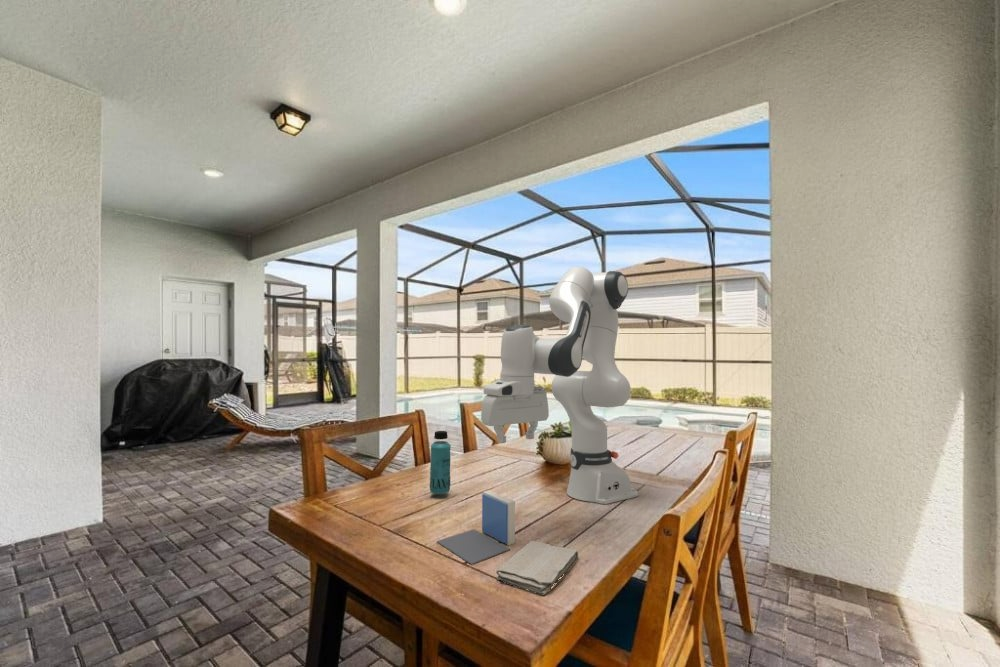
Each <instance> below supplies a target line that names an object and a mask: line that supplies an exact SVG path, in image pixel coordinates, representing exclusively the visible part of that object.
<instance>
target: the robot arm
mask: <svg viewBox="0 0 1000 667" xmlns="http://www.w3.org/2000/svg"><path fill="white" fill-rule="evenodd" d="M558 280H559V281H557V283H556V285H555V286H554V287H553V289H552V291H551V294H550V296H549V299H548V303H549V308H550V310H551V312H552V313H553V315H554V316H555V317H556V318H558V319H559V320H561V321H562V322H564V323H569V325H568V329H567V330H566V331H567V332H566V334H565V335H564V336H561V337H557V338H556V337H555V338H542V337H541V338H540V337H539V336H537V335H536V334H535V333H534V329H533V326H532V325H529V324H518V325H516V324H515V325H510V326H507V327H506V328H504V330H503V333H502V336H501V342H500V344H501V347H500V362H501V370H500V376H499V379H497V380H495V381H493V382H491V383H489V384H486V385H484V387H483V394H484V395H485V396H483V399H482V403H481V412H480V414H481V415H480V417H481V418H480V421H481V422H482V424H483V426H486V427H493V430H494V432H495V434H496V436H497V443H498V444H505V443H506V442H507V435H504V433H503V430H504V426H508V425H516V424H517V425H519V424H528V425H529V428H528V431H525V439H526V440H533V439H535V432H536V430H537V428H538V426H539V423H538V422H544V421H547V420H548V418H549V416H550V414H549V413H550V412H549V403H548V396H547V393H548V392H547V391H548V390H546V388H545V387H544V386H543V385H535V374H540V375H555V376H554V377H553V379H552V382H551V394H552V396H554V398H555V400H556V401H558V402H559V404H561V406H562V407H563V408H564V410H565V412H566V414H567V416H568V419H569V423H570V429H571V447H570V453H569V456H570V457H569V458H570V474H569V479H568V480H569V481H568V485H567V489H566V494H567V495H568V496H569V497H571V498H572V499H576V500H579V501H585V502H591V503H597V504H602V505H608V504H613V503H616V502H620V501H623V500H625V501H626V500H629V499H632V498H637V497H638V496H639V491H638V490H637V489H636V488H634V487H632V486H631V480H630V477H629V474H628V472H626V471H625V470H624V469H622V468H621V467H620V466H619V465H617V464H616V462H614V461H613V459H618V458H619V456H620V455H619V453H618V451H617V452H616V451H614V450H612V451H611V450H609V449H608V427H607V425H606V423H605V421H603V419H601V418H599V417H597V415H595V413H594V412H593V410H592V407H598V408H599V407H600V408H617V407H623V406H624V405H626V403H628V400H629V399H630V397H631V394H632V391H631V390H632V388H631V385H630V382H629V380H628V378H627V377H626V376H625V375H624V374H623V373H621V371H620V370H619V369H618V367H617V363H616V360H615V353H616V352H615V351H616V344H617V338H618V331H619V313H618V310H617V309H620V308H621V306H622V304H623V303H624V302H625V300H626V298H627V295H628V293H629V284H628V280H627V278H626V276H625V275H624V273H623V272H621V271H617V270H615V271H614V270H611V271H610V270H609V271H606V272H605V271H604V272H596V273H595V272H594V273H592V272H591V271H590V269H587V268H586V267H584V266H573V267H571V268H569V269H568V270H567V271H566V272H565V274H563V276H562V277H561V278H560V279H558ZM583 359H584V360H585V361H586V362H588V363H589V364H590V365H592V368H591V370H579V369H580V368H581V365H582V361H583Z"/></svg>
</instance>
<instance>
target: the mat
mask: <svg viewBox="0 0 1000 667" xmlns="http://www.w3.org/2000/svg"><path fill="white" fill-rule="evenodd" d="M436 543H437V544H438V545H440V546H442V547H443V546H444V547H443V548H445V549H446V548H447V549H446V550H448V551H449V550H450V551H449V552H451V553H452V552H453V553H452V554H454V555H455V554H456V555H455V556H457V557H458V556H459V557H458V558H459V559H461V558H462V561H464V560H465V562H466V563H468V564H469V563H470V566H473V565H475V564H474V563H476V562H478V563H480V561H481V562H483V561H485V559H486V560H489V559H491V558H494V557H495V556H498V555H502V554H504V553H506V551H507V552H509V551H511V548H510V547H507V546H506V545H504V544H502V543H500V541H498V540H497V541H496V539H494V538H491V537H489V535H487V534H484V533H482V532H481V531H478V530H477V529H476V528H474V529H473V528H472V529H470V530H466V531H464V532H460V533H457V534H455V535H452V536H448V537H445V538H443V539H439V540H437V541H436ZM482 560H483V561H482ZM472 564H473V565H472ZM476 564H477V563H476Z"/></svg>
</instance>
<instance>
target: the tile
mask: <svg viewBox="0 0 1000 667" xmlns="http://www.w3.org/2000/svg"><path fill="white" fill-rule="evenodd" d="M481 496H482V498H481V503H482V505H481V510H482V511H481V512H482V513H481V532H483V534H484V533H485V535H487V536H490V537H492V538H493V537H494V538H493V539H494V540H497V541H498V542H501V543H503V544H504V543H505V545H506V544H507V546H508V545H509V546H511V545H510V544H512V545H514V544H515V543H516V541H515V540H516V538H515V537H516V500H513V499H510V498H508V497H507V496H504V495H501V494H499V493H496V492H494V491H492V490H485V491H483V492H482V494H481ZM513 543H514V544H513Z"/></svg>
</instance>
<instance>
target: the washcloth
mask: <svg viewBox="0 0 1000 667" xmlns="http://www.w3.org/2000/svg"><path fill="white" fill-rule="evenodd" d="M578 559H579V551H578V550H576V549H572V548H569V547H565V546H554V545H551V544H548V543H546V542H540V541H537V540H536V541H535V540H530V541H529V542H528V543H526V544H525V545H524V546H523V547H522V548H521V549H520V550H518V551H517V552H516V553H514V554H513V555H512V556H511V557H510V558H509V559H507V561H505V562H504V563H503V564H501V565H500V566H499V567H497V570H496V571H495V573H496V574H497V577H496V578H495V580H496V581H501V582H502V581H503V582H504V583H503V582H502V583H503V584H505V583H507V584H510V585H513V586H515V587H514V588H517V587H520V588H519V589H521V588H523V589H522V590H524V589H528V590H529V591H528V592H530V591H533V592H536V593H539V594H542V595H541V596H545V595H546V594H548V593H550V592H549V590H550V589H551V587H552V586H553V584H554V583H558V582H559V580H560V579H559V578H560V577H562V576H563V574H565V573H566V572H567V571H568V570H569V571H570V569H571V568H572V567H573V566H574V565H575V564H576V562H577V561H578ZM574 563H575V564H574ZM573 564H574V565H573ZM572 565H573V566H572ZM570 567H571V568H570ZM569 568H570V569H569ZM569 571H568V572H569ZM568 572H567V573H568ZM567 573H566V574H567ZM558 579H559V580H558ZM560 581H561V580H560ZM559 583H560V582H559ZM559 583H558V584H559ZM507 584H506V585H507ZM510 585H509V586H510ZM513 586H512V587H513ZM533 592H532V593H533ZM547 592H548V593H547ZM536 593H535V594H536ZM539 594H538V595H539Z"/></svg>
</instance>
